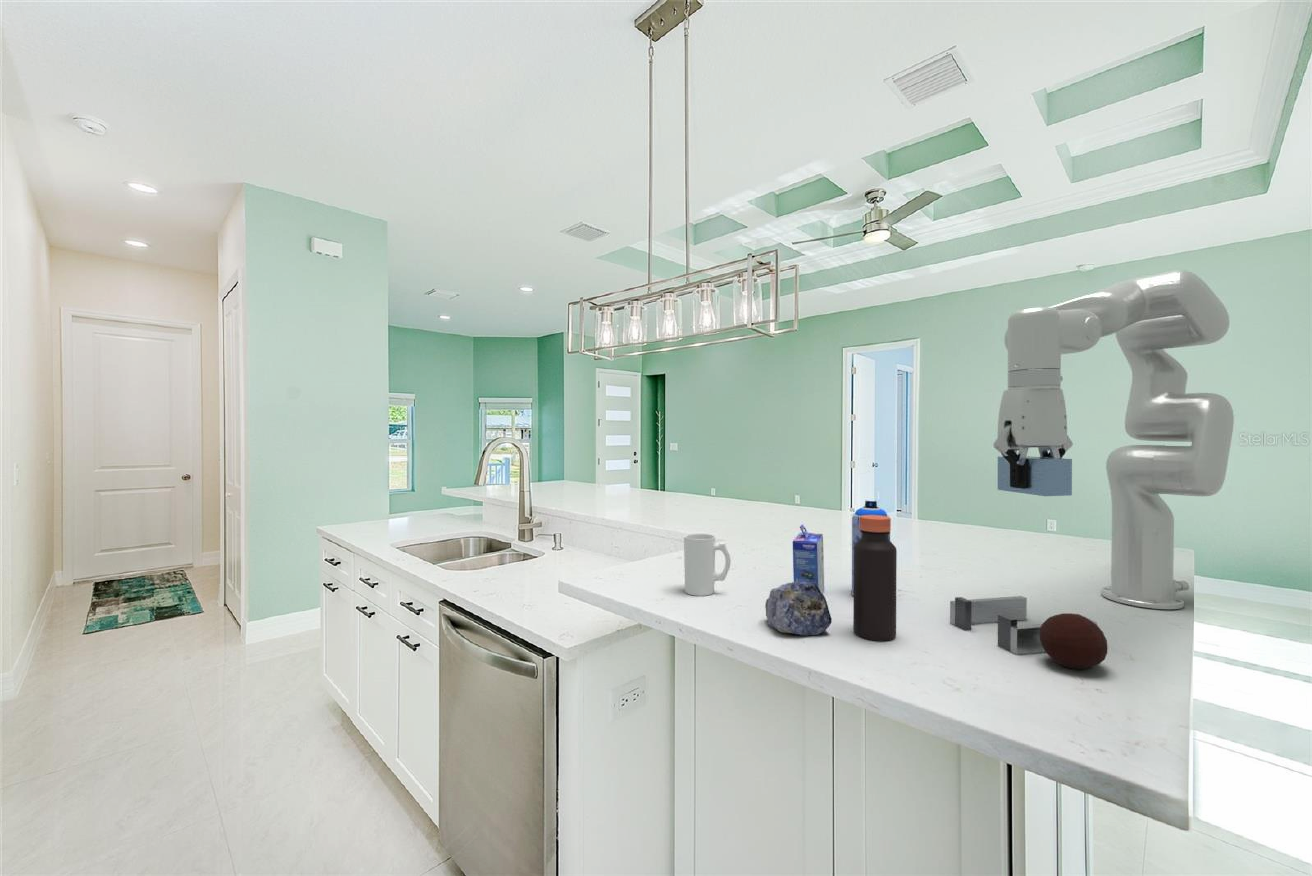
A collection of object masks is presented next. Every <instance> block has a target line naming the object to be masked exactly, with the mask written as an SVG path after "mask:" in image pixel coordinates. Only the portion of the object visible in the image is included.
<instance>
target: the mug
mask: <svg viewBox="0 0 1312 876" xmlns="http://www.w3.org/2000/svg"><path fill="white" fill-rule="evenodd" d="M716 551H720V552H721V553H723V555H724V559H725V564H724V568H723V570H722V571H721V572H720V573H718V572H716V570H715V567H716ZM683 552H684V553H683V557H684V559H683V561H684V562H683V563H684V589H685V590H684V592H685V593H686V594H687V593H688V595H690V596H696V597H706V596H711V595H713V594H714V593H715V583H716V582H718V581H720V582H723V581H725V580H726V578H727V576H728V572H729V571H730V567H731V561H732V560H731V555H730V552H729V549H728V547H727V543H726V542H720V543H718V544H717V543H716V535H713V534H708V533H688V534H685V535H684V536H683Z"/></svg>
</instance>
